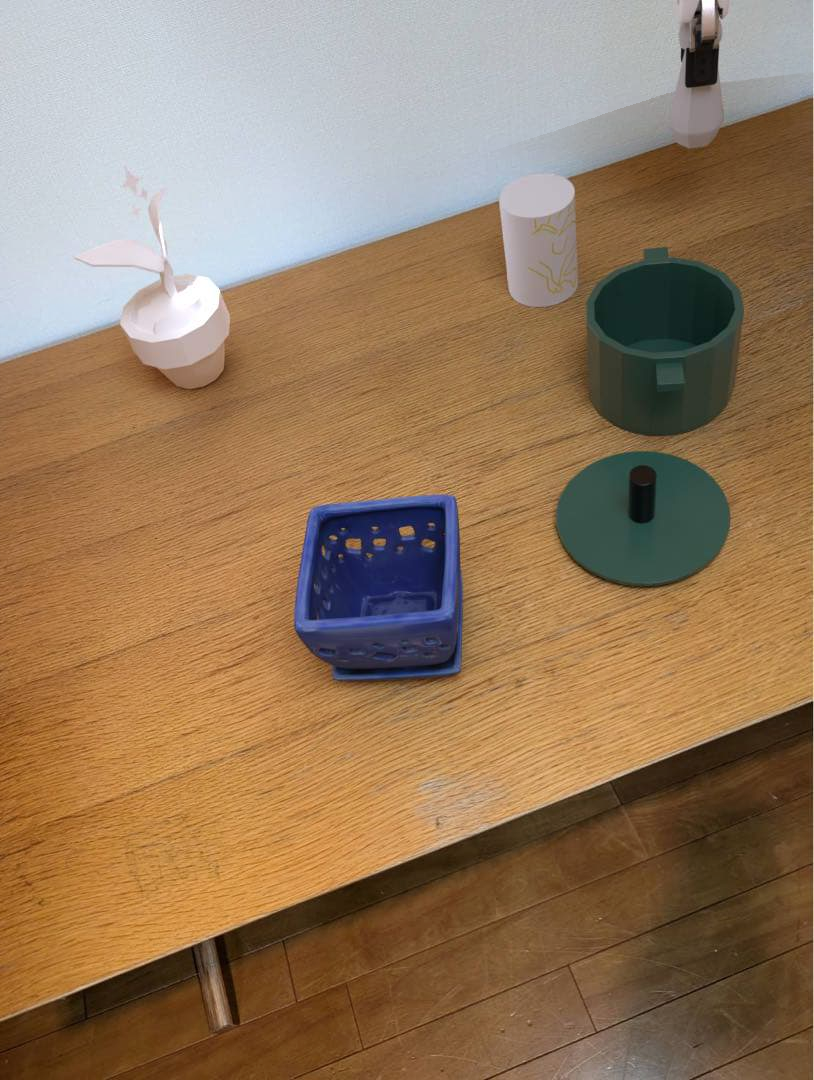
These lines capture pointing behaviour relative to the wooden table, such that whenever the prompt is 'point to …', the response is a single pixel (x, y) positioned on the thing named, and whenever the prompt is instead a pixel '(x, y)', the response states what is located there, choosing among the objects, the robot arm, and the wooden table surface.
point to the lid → (643, 518)
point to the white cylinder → (540, 239)
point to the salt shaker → (695, 104)
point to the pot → (663, 344)
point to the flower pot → (383, 589)
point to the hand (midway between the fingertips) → (698, 70)
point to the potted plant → (168, 307)
